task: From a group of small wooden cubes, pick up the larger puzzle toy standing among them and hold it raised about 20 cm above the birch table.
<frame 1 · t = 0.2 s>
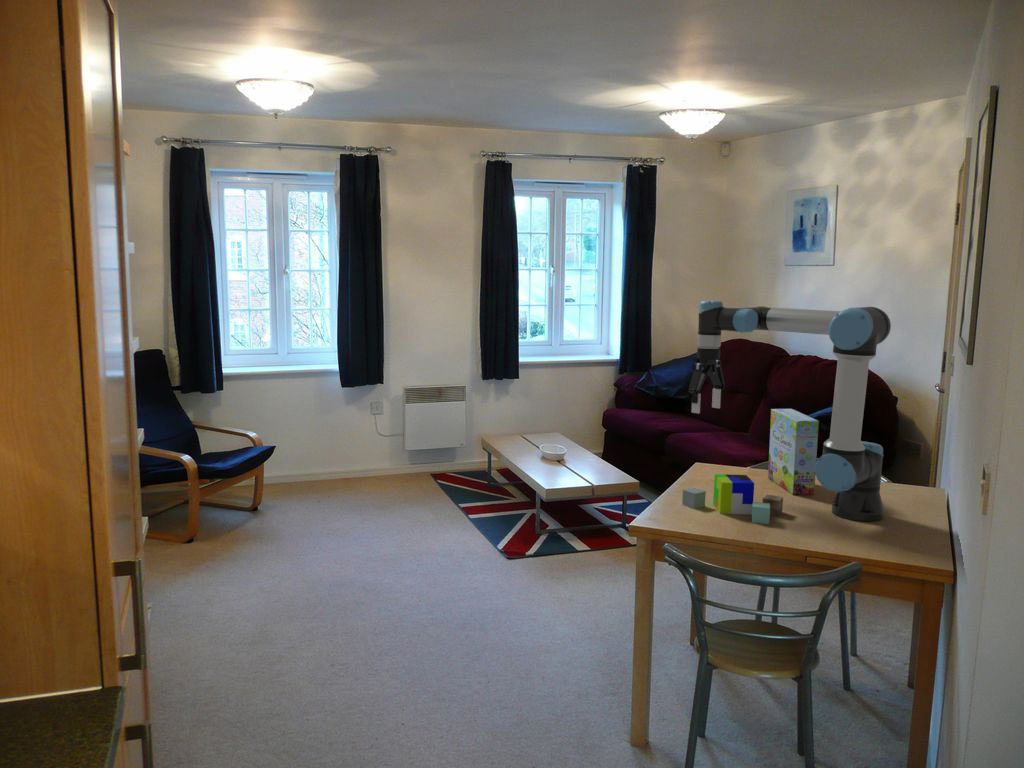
hand: (705, 410, 285), 28 cm above the table, fingers open, 13 cm apart
snack box: (789, 487, 296), on the table
slate grey cube: (693, 505, 271), on the table
walnut cube: (772, 513, 265), on the table
dusty teal cube: (760, 521, 257), on the table
puzzle toy: (732, 510, 268), on the table
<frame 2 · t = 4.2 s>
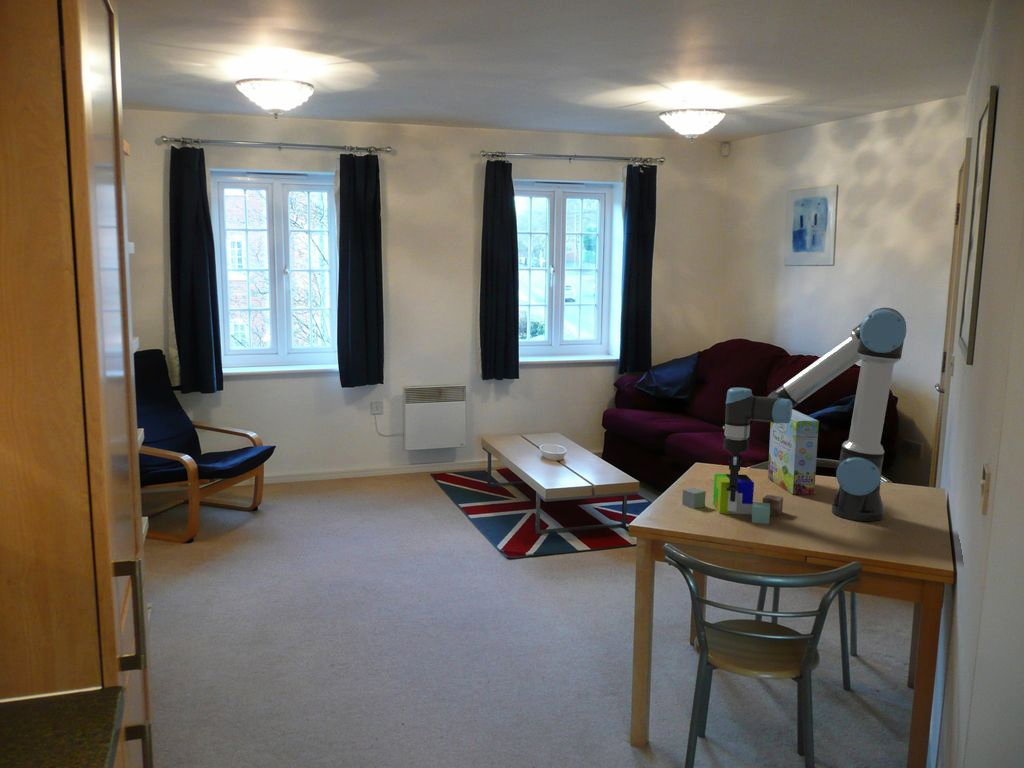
hand: (732, 505, 268), 1 cm above the table, fingers closed on puzzle toy, 11 cm apart
puzzle toy: (732, 509, 268), on the table, touching gripper
everything else where it was.
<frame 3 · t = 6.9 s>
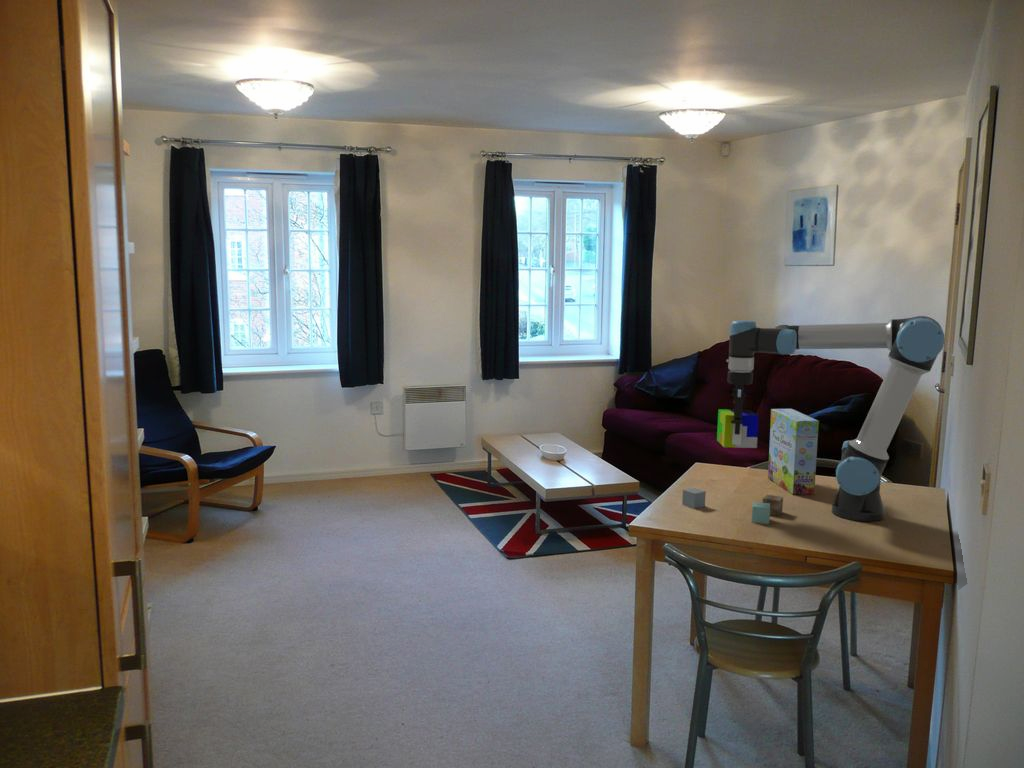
hand: (736, 440, 265), 22 cm above the table, fingers closed on puzzle toy, 11 cm apart
puzzle toy: (736, 444, 265), point 21 cm above the table, touching gripper
everything else where it was.
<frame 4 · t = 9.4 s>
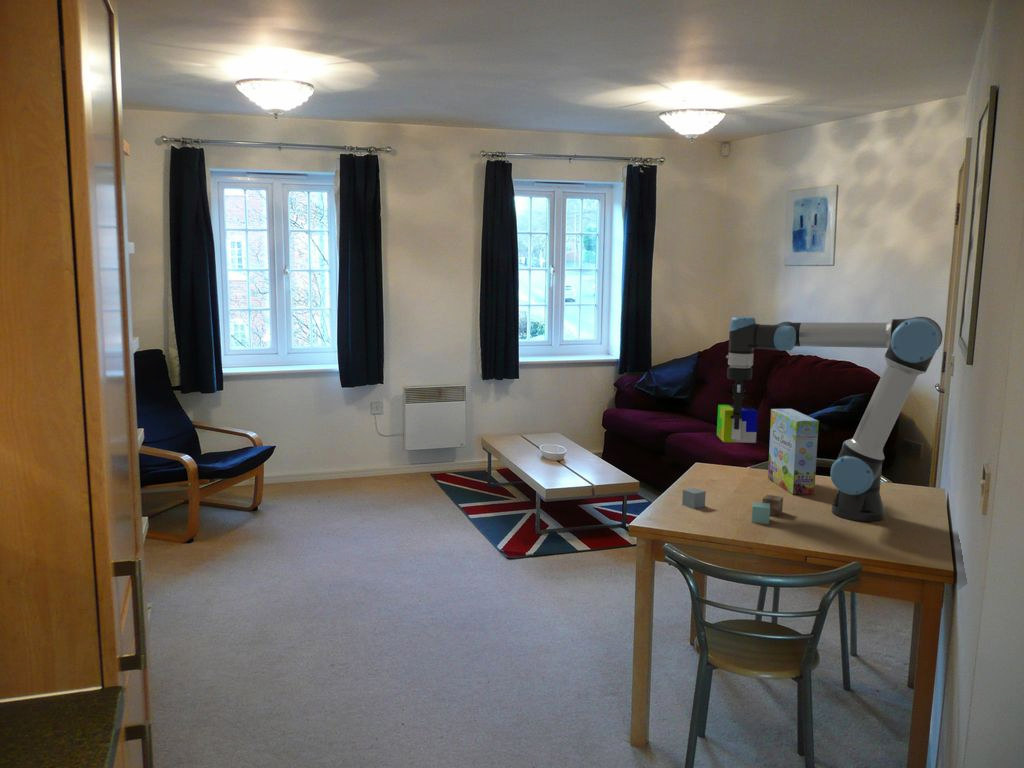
hand: (736, 435, 268), 23 cm above the table, fingers closed on puzzle toy, 11 cm apart
puzzle toy: (735, 439, 268), point 22 cm above the table, touching gripper
everything else where it was.
at the end: the gripper is holding puzzle toy; puzzle toy point 21.6 cm above the table; walnut cube moved 0.1 cm from its start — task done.
